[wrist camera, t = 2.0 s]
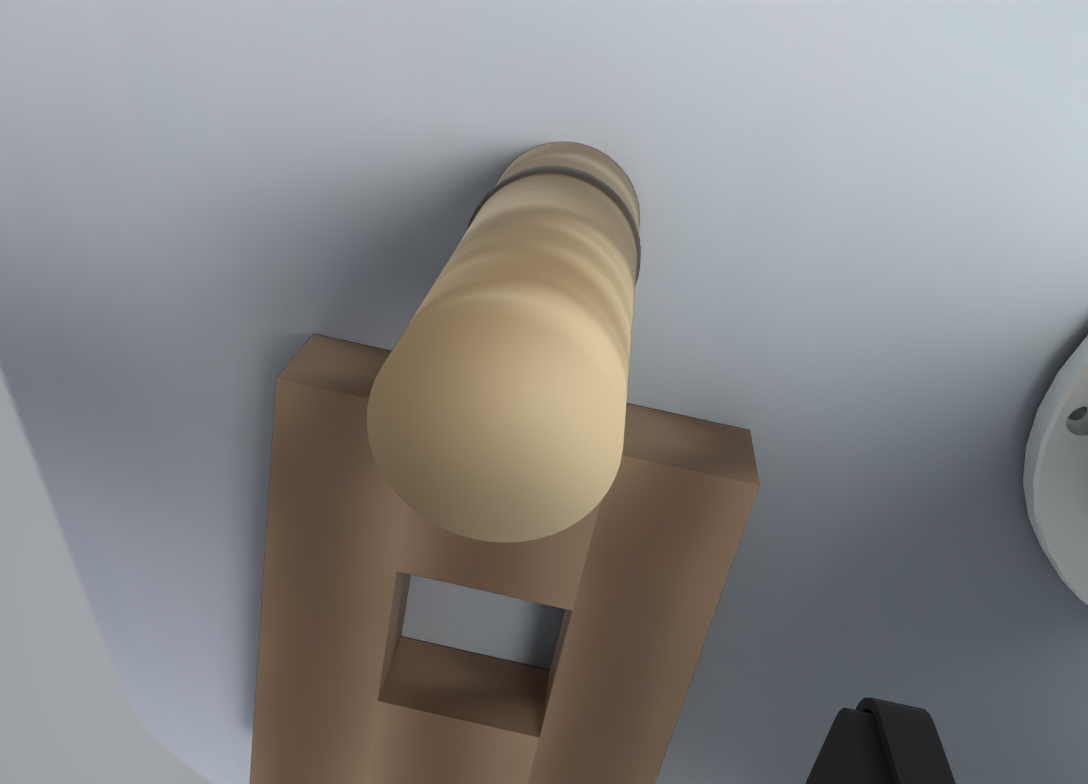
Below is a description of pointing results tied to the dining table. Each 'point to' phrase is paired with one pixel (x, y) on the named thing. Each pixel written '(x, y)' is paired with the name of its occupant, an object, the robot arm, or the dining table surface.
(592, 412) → the peg
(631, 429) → the board
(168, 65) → the dining table surface
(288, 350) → the dining table surface
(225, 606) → the dining table surface
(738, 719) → the dining table surface
